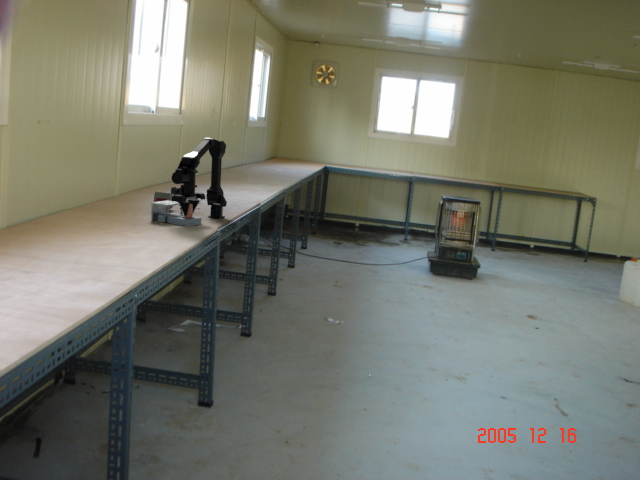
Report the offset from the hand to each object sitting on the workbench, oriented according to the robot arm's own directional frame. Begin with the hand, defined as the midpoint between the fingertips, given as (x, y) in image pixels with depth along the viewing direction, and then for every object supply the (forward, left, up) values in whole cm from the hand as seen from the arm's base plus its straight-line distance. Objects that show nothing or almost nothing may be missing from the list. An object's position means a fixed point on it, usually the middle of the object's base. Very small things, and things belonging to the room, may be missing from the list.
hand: (188, 215), depth 280 cm
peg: (0, 0, -3) cm, 3 cm away
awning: (0, -13, -4) cm, 14 cm away
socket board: (0, -5, -4) cm, 7 cm away
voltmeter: (-26, -28, -5) cm, 39 cm away
